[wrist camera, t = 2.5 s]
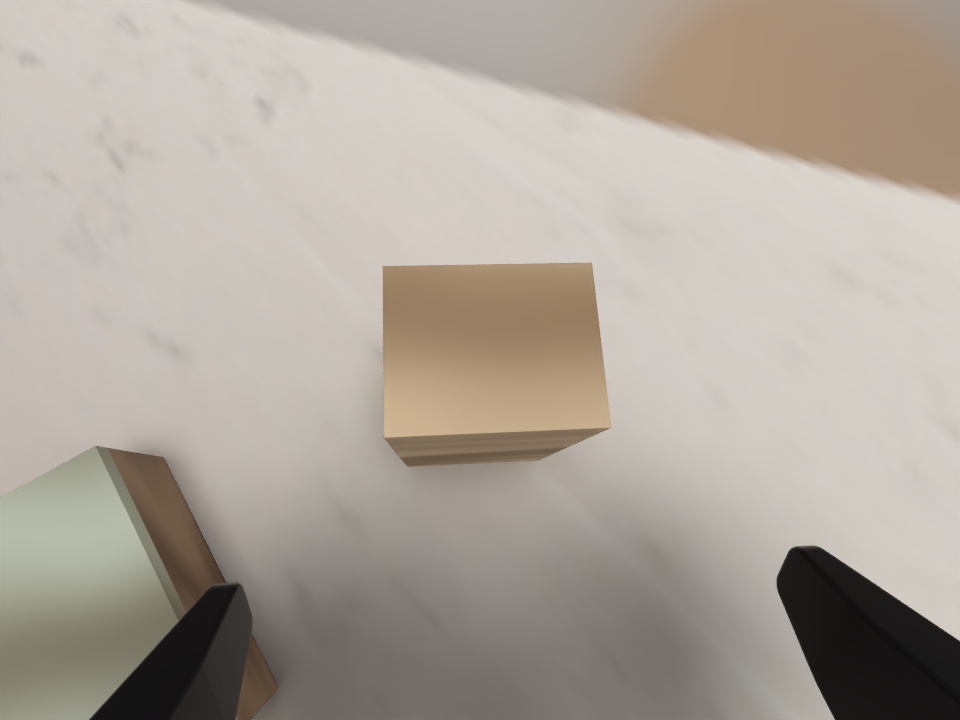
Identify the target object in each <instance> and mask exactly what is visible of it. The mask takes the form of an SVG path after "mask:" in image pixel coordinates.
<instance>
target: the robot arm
mask: <svg viewBox="0 0 960 720" xmlns="http://www.w3.org/2000/svg"><path fill="white" fill-rule="evenodd" d="M777 589H778V593H779V595H780V598H781V600H782V603H783V605H784V607H785V610H786V612H787V615H788V617H789V619H790V622H791V624H792V627H793V629H794V631H795V634H796V636H797V639H798V641H799V643H800V646H801V648H802V651H803V653H804V656H805V658H806V660H807V663H808V665H809V668H810V670H811V672H812V674H813V677H814V679H815V681H816V683H817V685H818V687H819V689H820V691H821V693H822V695H823V697H824V699H825V701H826V703H827V705H828V707H829V709H830V711H831V713H832V715H833V717H834V719H835V720H960V641H959V640H957V639H956V638H954V637H953V636H952V635H950V634H949V633H947V632H946V631H944V630H943V629H941V628H940V627H938V626H937V625H935V624H934V623H932V622H931V621H929V620H928V619H926V618H925V617H923V616H922V615H920V614H919V613H917V612H916V611H914V610H913V609H911V608H910V607H908V606H907V605H905V604H904V603H902V602H901V601H900V600H898V599H897V598H895V597H894V596H892V595H891V594H889V593H888V592H886V591H885V590H883V589H882V588H880V587H879V586H877V585H876V584H874V583H873V582H871V581H870V580H868V579H867V578H865V577H864V576H862V575H861V574H859V573H858V572H856V571H855V570H853V569H852V568H851V567H849V566H848V565H846V564H845V563H843V562H842V561H840V560H839V559H837V558H836V557H834V556H833V555H831V554H830V553H828V552H827V551H825V550H824V549H822V548H820V547H818V546H812V545H811V546H796V547H793V548H791V549H790V550H789V552H788V554H787V556H786V558H785V560H784V563H783V565H782V567H781V569H780V571H779V574H778V576H777ZM251 631H252V614H251V611H250V608H249V604H248V601H247V598H246V595H245V592H244V589H243V587H242V585H241V584H240V583H236V582H235V583H220V584H214V585H212V586H211V587H209V588H208V589H207V590H206V591H205V592H204V594H203V595H202V596H201V597H200V598H199V599H198V600H197V601H196V602H195V603H194V605H193V606H192V607H191V608H190V609H189V610H188V611H187V612H186V613H185V614H184V616H183V617H182V618H181V619H180V620H179V621H178V622H177V623H176V624H175V625H174V627H173V628H172V629H171V630H170V631H169V632H168V633H167V634H166V635H165V636H164V638H163V639H162V640H161V641H160V642H159V643H158V644H157V645H156V646H155V647H154V649H153V650H152V651H151V652H150V653H149V654H148V655H147V656H146V657H145V658H144V660H143V661H142V662H141V663H140V664H139V665H138V666H137V667H136V668H135V669H134V671H133V672H132V673H131V674H130V675H129V676H128V677H127V678H126V679H125V680H124V682H123V683H122V684H121V685H120V686H119V687H118V688H117V689H116V690H115V691H114V693H113V694H112V695H111V696H110V697H109V698H108V699H107V700H106V701H105V702H104V704H103V705H102V706H101V707H100V708H99V709H98V710H97V711H96V712H95V713H94V715H93V716H92V717H91V718H90V719H89V720H236V714H237V709H238V703H239V698H240V692H241V687H242V681H243V675H244V670H245V664H246V659H247V653H248V648H249V642H250V637H251Z"/></svg>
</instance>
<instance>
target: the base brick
mask: <svg viewBox="0 0 960 720" xmlns="http://www.w3.org/2000/svg"><path fill="white" fill-rule="evenodd" d="M220 583H226V582H225V580H224V578H223V576H222V574H221V572H220V570H219V568H218V566H217V564H216V562H215V560H214V558H213V556H212V554H211V552H210V550H209V548H208V546H207V544H206V542H205V540H204V538H203V536H202V534H201V532H200V530H199V528H198V526H197V524H196V522H195V520H194V518H193V516H192V514H191V512H190V510H189V508H188V506H187V504H186V502H185V500H184V498H183V496H182V494H181V492H180V490H179V488H178V486H177V484H176V482H175V480H174V478H173V476H172V474H171V472H170V470H169V468H168V466H167V464H166V462H165V460H164V458H163V457H157V456H151V455H146V454H140V453H134V452H128V451H122V450H116V449H111V448H105V447H99V446H94V447H93V448H91V449H89V450H87V451H85V452H83V453H82V454H80V455H78V456H76V457H74V458H72V459H70V460H69V461H67V462H65V463H63V464H61V465H59V466H58V467H56V468H54V469H52V470H50V471H48V472H47V473H45V474H43V475H41V476H39V477H37V478H35V479H34V480H32V481H30V482H28V483H26V484H24V485H23V486H21V487H19V488H17V489H15V490H13V491H12V492H10V493H8V494H6V495H4V496H2V497H0V720H89V719H90V718H91V717H92V716H93V715H94V713H95V712H96V711H97V710H98V709H99V708H100V707H101V706H102V705H103V704H104V702H105V701H106V700H107V699H108V698H109V697H110V696H111V695H112V694H113V693H114V691H115V690H116V689H117V688H118V687H119V686H120V685H121V684H122V683H123V682H124V680H125V679H126V678H127V677H128V676H129V675H130V674H131V673H132V672H133V671H134V669H135V668H136V667H137V666H138V665H139V664H140V663H141V662H142V661H143V660H144V658H145V657H146V656H147V655H148V654H149V653H150V652H151V651H152V650H153V649H154V647H155V646H156V645H157V644H158V643H159V642H160V641H161V640H162V639H163V638H164V636H165V635H166V634H167V633H168V632H169V631H170V630H171V629H172V628H173V627H174V625H175V624H176V623H177V622H178V621H179V620H180V619H181V618H182V617H183V616H184V614H185V613H186V612H187V611H188V610H189V609H190V608H191V607H192V606H193V605H194V603H195V602H196V601H197V600H198V599H199V598H200V597H201V596H202V595H203V594H204V592H205V591H206V590H207V589H208V588H209V587H211V586H212V585H214V584H220ZM277 689H278V686H277V684H276V682H275V680H274V678H273V676H272V674H271V672H270V670H269V668H268V666H267V664H266V662H265V660H264V658H263V656H262V654H261V652H260V650H259V648H258V646H257V644H256V642H255V640H254V638H253V636H252V634H251V637H250V642H249V648H248V653H247V659H246V664H245V670H244V675H243V681H242V687H241V692H240V698H239V703H238V709H237V714H236V720H251V719H252V717H253V716H254V715H255V714H256V713H257V712H258V711H259V709H260V708H261V707H262V706H263V705H264V704H265V703H266V701H267V700H268V699H269V698H270V697H271V696H272V695H273V693H274V692H275V691H276V690H277Z"/></svg>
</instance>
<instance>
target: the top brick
mask: <svg viewBox="0 0 960 720" xmlns="http://www.w3.org/2000/svg"><path fill="white" fill-rule="evenodd" d="M383 364H384V438H385V439H386V441H387V442H388V443H389V444H390V446H391V447H392V448H393V449H394V450H395V452H396V453H397V454H398V455H399V457H400V458H401V459H402V460H403V461H404V463H405V464H406V465H407V466H428V465H449V464H469V463H490V462H510V461H531V460H540V459H542V458H544V457H547V456H549V455H551V454H553V453H555V452H558V451H560V450H562V449H564V448H567V447H569V446H571V445H573V444H576V443H578V442H580V441H582V440H585V439H587V438H589V437H591V436H593V435H596V434H598V433H600V432H602V431H605V430H607V429H609V428H611V422H610V414H609V405H608V397H607V388H606V380H605V371H604V363H603V354H602V346H601V337H600V328H599V320H598V311H597V303H596V294H595V286H594V277H593V269H592V263H548V264H488V265H428V266H383Z"/></svg>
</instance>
